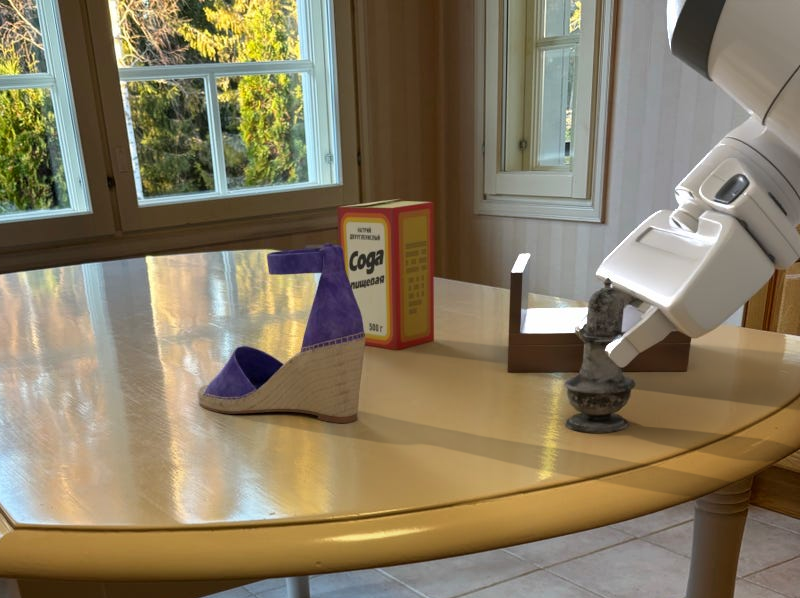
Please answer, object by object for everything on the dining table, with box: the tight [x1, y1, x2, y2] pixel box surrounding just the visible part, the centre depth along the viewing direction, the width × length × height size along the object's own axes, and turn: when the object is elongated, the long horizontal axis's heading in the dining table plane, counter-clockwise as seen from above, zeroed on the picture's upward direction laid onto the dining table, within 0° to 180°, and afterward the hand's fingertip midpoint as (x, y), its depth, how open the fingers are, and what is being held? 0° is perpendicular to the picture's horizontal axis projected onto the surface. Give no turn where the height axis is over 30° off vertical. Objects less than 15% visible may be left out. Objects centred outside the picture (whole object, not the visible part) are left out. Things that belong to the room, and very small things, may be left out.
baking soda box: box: [336, 198, 435, 351], centre depth 113 cm, size 10×6×16 cm
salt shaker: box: [563, 277, 637, 434], centre depth 77 cm, size 6×6×12 cm
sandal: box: [197, 242, 366, 424], centre depth 87 cm, size 8×20×15 cm, turn 45°
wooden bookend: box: [507, 253, 692, 373], centre depth 100 cm, size 18×14×10 cm
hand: (595, 348), depth 77 cm, fingers open, 8 cm apart
